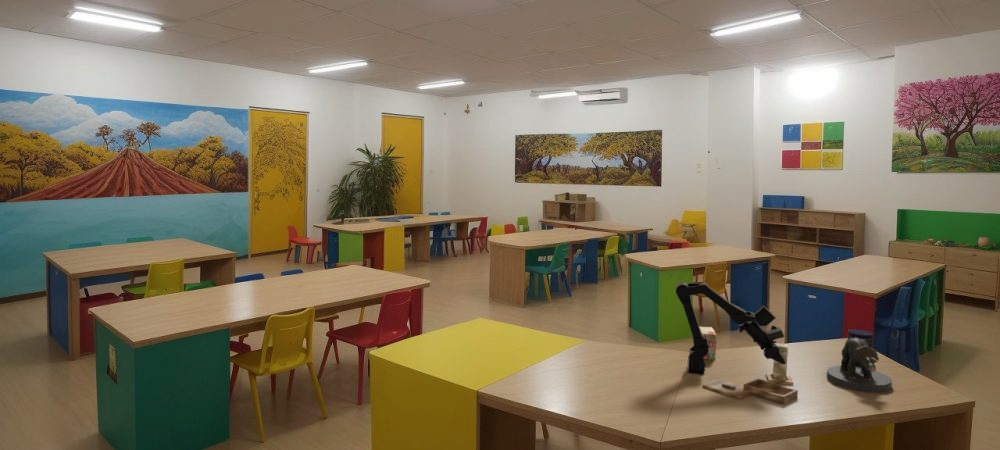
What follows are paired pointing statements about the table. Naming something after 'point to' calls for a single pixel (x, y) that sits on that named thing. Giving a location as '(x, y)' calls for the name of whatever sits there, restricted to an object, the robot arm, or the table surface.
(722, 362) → the table surface
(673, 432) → the table surface
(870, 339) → the storage jar
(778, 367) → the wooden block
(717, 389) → the lid
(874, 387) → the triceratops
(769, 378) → the square wooden frame
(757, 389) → the tan wooden shallow tray
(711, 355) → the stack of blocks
